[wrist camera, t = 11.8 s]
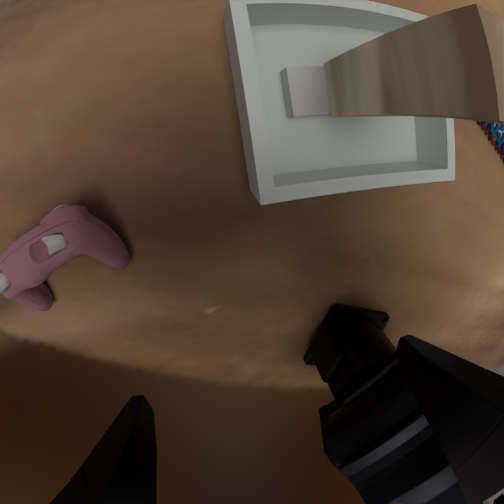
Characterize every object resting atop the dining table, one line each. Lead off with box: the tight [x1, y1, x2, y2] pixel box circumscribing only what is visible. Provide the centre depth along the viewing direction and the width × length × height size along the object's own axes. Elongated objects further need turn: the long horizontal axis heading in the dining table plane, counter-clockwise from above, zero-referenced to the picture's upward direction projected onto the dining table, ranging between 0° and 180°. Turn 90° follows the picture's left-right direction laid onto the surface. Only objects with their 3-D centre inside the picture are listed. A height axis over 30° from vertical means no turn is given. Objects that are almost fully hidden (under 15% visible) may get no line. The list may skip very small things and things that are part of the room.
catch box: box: [224, 0, 455, 205], centre depth 14 cm, size 14×12×4 cm
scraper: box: [280, 4, 504, 124], centre depth 10 cm, size 8×3×13 cm, turn 98°
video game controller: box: [0, 205, 129, 311], centre depth 15 cm, size 10×5×7 cm, turn 113°
